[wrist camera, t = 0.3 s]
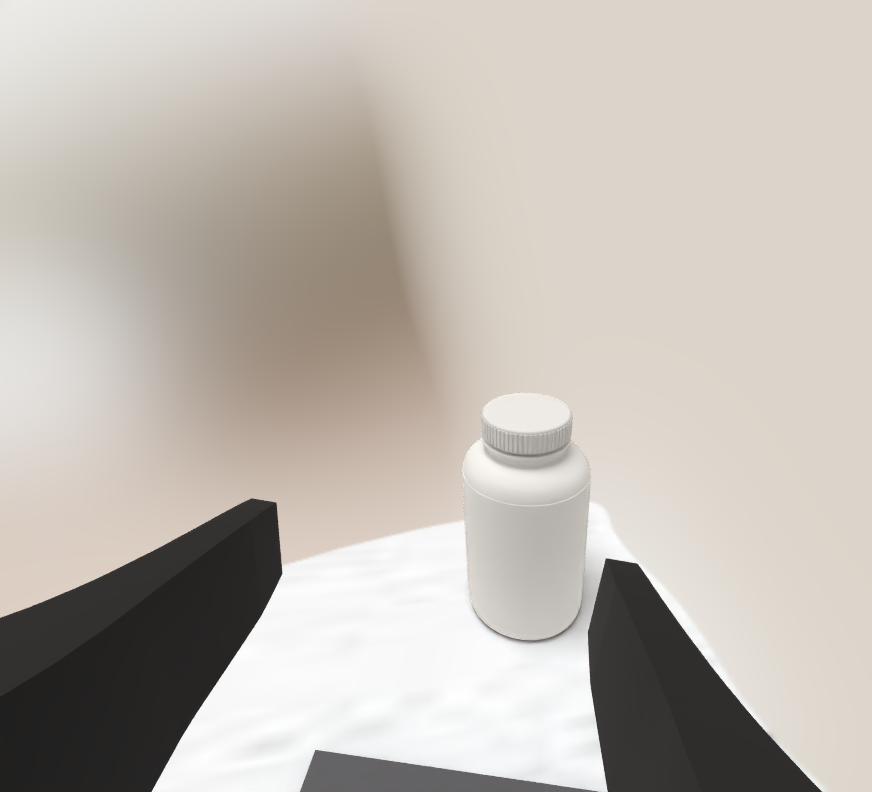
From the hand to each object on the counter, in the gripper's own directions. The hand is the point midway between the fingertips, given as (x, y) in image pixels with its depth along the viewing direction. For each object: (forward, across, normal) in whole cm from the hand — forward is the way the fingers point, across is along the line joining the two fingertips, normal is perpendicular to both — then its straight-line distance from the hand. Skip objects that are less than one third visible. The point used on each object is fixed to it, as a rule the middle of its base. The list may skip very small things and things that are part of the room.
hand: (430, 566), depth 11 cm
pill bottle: (+20, -4, +19) cm, 28 cm away
